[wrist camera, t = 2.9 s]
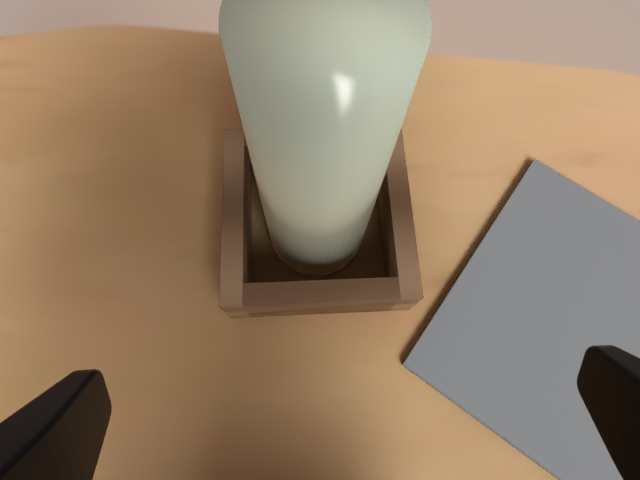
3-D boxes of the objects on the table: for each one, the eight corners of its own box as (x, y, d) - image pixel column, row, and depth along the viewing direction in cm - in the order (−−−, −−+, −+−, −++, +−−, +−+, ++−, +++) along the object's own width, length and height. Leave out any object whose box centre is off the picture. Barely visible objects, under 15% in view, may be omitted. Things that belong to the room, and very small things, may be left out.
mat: (674, 564, 19) (682, 568, 18) (401, 364, 21) (403, 364, 21) (771, 305, 23) (778, 303, 22) (531, 162, 25) (534, 159, 25)
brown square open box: (408, 309, 22) (423, 297, 19) (230, 317, 22) (219, 306, 19) (390, 154, 25) (400, 124, 22) (233, 159, 25) (224, 129, 22)
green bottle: (300, 293, 22) (288, 144, 9) (253, 216, 23) (181, -11, 10) (380, 245, 23) (475, 47, 10) (330, 173, 24) (356, -83, 11)
